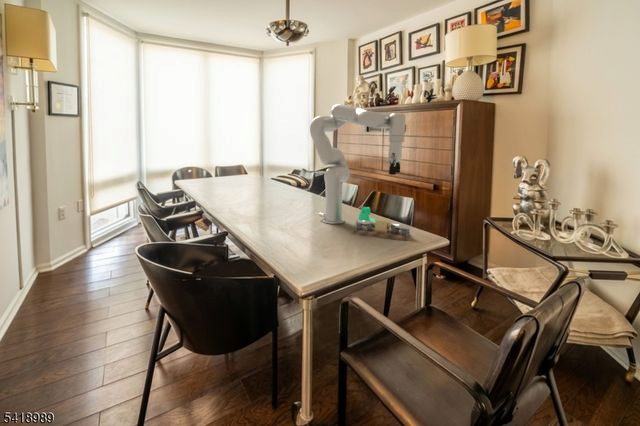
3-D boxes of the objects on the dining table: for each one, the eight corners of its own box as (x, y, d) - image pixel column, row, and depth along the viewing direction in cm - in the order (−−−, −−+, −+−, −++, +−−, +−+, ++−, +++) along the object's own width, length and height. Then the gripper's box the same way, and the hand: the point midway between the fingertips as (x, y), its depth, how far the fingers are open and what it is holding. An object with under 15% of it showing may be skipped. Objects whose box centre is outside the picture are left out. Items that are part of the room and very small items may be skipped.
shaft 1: (355, 229, 184) (355, 220, 183) (356, 227, 189) (357, 218, 187) (373, 231, 182) (373, 222, 181) (374, 228, 186) (374, 220, 185)
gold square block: (373, 231, 181) (374, 220, 180) (376, 228, 187) (377, 217, 185) (387, 233, 178) (388, 221, 177) (390, 230, 184) (391, 219, 182)
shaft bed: (354, 233, 183) (354, 230, 182) (360, 228, 192) (360, 225, 192) (405, 240, 172) (405, 237, 172) (409, 234, 182) (409, 231, 182)
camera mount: (380, 227, 196) (381, 208, 194) (367, 228, 194) (368, 209, 191) (369, 221, 207) (370, 204, 205) (358, 222, 205) (358, 205, 202)
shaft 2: (389, 233, 179) (389, 224, 178) (392, 231, 182) (393, 222, 181) (406, 236, 174) (407, 226, 173) (409, 234, 177) (410, 224, 176)
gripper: (393, 138, 187) (391, 171, 190) (384, 139, 171) (382, 175, 175) (407, 139, 184) (405, 172, 187) (400, 139, 168) (398, 175, 172)
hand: (394, 173), depth 181 cm, fingers open, 9 cm apart
